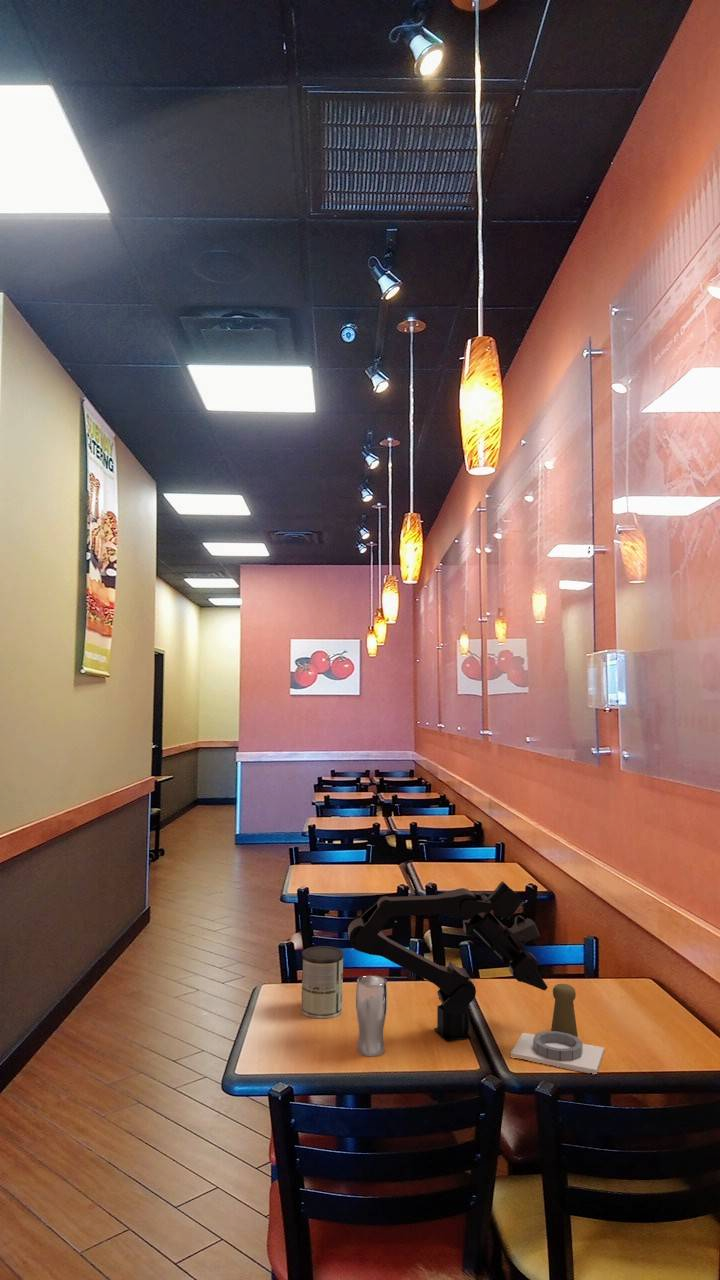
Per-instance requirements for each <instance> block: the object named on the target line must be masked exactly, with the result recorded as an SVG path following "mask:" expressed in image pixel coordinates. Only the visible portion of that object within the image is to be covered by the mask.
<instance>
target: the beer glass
mask: <svg viewBox="0 0 720 1280" xmlns="http://www.w3.org/2000/svg"><path fill="white" fill-rule="evenodd" d="M355 992H356V993H355V1009H356V1011H355V1012H356V1018H357V1024H358V1025H357V1026H358V1041H357V1047H356V1052H357V1053H358V1054H359V1055H360V1056H364V1057H368V1058H369V1057H370V1058H371V1057H373V1058H374V1057H379V1056H382V1055H383V1054H384V1053H385V1052H386V1049H385V1041H384V1030H385V1029H384V1028H385V1022H386V1017H387V1011H388V981H387V979H386V978H385V977H382V976H380V975H364V976H360V977H359V978H357V979H356V991H355Z"/></svg>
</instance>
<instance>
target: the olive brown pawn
mask: <svg viewBox="0 0 720 1280" xmlns="http://www.w3.org/2000/svg"><path fill="white" fill-rule="evenodd" d="M552 996H553V998H554V1006H553V1013H552V1019H551V1020H552V1021H551V1030H550V1031H558V1032H564V1033H568V1034H571V1035H573V1036H576V1037H578V1029H577V1021H576V1019H577V1018H576V1014H575V1005H574V1001H575V999H576V997H577V994H576V990H575V988H574V987H573V986H572V985H571V984H567V983H557V984H556V985H554V986H553V987H552Z"/></svg>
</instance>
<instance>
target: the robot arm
mask: <svg viewBox="0 0 720 1280" xmlns="http://www.w3.org/2000/svg"><path fill="white" fill-rule="evenodd" d="M376 901H377V902H376V903H375V904H374V905H373V906H371V907H369V909H366V911H365V912H364V913H363V914H362V915H361V916H360V917H359V918H356V919H354V920H352V921H351V922H350V924H348V928H347V934H348V940H349V943H350V946H351V947H352V949H353V950H355V951H357V952H361V953H364V954H366V955H369V956H377V957H382V958H384V959H387V961H388V960H389V961H390V962H392V963H393V964H396V965H398V966H400V967H401V968H403V969H405V970H406V971H409V972H411V973H413V974H415V975H417V976H418V977H421V978H422V979H424V980H426V981H428V982H430V983H432V984H433V985H435V987H437V988H438V990H437V992H436V993H437V997H438V999H439V1002H441V1004H440V1005H439V1004H438V1005H436V1007H437V1011H436V1012H437V1013H436V1014H437V1016H436V1023H437V1024H436V1027H433V1031H434V1032H435V1033H436V1034H437V1035H438V1036H439V1037H441V1039H443V1040H444V1041H446V1042H451V1041H457V1040H462V1039H464V1040H465V1039H470V1038H471V1036H472V1035H471V1034H470V1033H469V1032H470V1013H469V1012H468V1009H469V1006H470V1003H472V1002H473V1001H474V999H476V996H477V989H476V985H475V984H474V982H473V981H472V979H471V977H470V975H469V974H468V973H467V970H466V969H465V968H464V967H460V966H458V965H457V964H455V963H453V962H452V961H448V965H447V966H446V965H439V964H438V963H436V962H434V961H432V960H430V959H428V958H426V957H424V956H423V955H421V954H419V953H417V952H415V951H413V950H411V949H409V948H407V947H406V946H404V945H401V944H400V943H398V942H396V941H394V940H392V939H390V938H388V937H387V936H386V935H385V934H384V933H383V932H382V929H383V928H384V927H385V925H386V923H387V922H388V921H389V920H390V919H391V918H392V917H404V916H407V917H409V916H411V917H412V916H428V915H429V916H430V915H440V916H441V915H442V916H447V917H450V918H455V919H462V923H463V924H462V925H463V928H462V930H463V932H464V934H465V935H467V936H469V935H470V934H471V933H472V931H474V933H475V934H477V935H478V936H479V937H480V939H481V940H482V941H483V942H484V943H485V944H486V945H487V946H488V947H489V949H490V950H491V951H492V952H494V953H495V954H496V955H497V956H498V957H499V958H500V959H501V960H502V962H503V963H504V964H505V965H509V968H508V969H509V972H510V974H511V975H512V977H513V978H515V980H516V981H517V982H518V983H523V984H527V985H529V986H532V987H534V988H537V989H540V990H542V991H546V990H547V989H548V985H547V983H546V982H545V980H544V979H543V978H542V976H541V975H540V972H539V971H538V965H539V961H538V959H536V957H535V956H534V955H533V954H532V953H531V952H530V951H529V950H524V948H525V947H526V945H524V944H525V943H528V942H529V941H532V940H533V939H537V938H540V935H541V934H540V933H539V930H538V928H537V925H536V923H535V922H534V921H533V919H531V918H528V917H526V919H525V918H524V917H523V916H521V915H518V916H515V917H514V924H512V926H511V927H510V928H508V926H506V925H504V924H503V923H502V922H500V921H499V919H498V918H496V916H497V917H499V918H500V919H501V920H503V919H504V920H506V919H507V920H510V918H511V917H512V916H513V915H514V914H515V913H516V912H517V911H518V910H519V908H521V907H522V906H523V905H524V903H525V901H524V900H523V899H522V897H521V896H519V895H518V893H516V892H515V891H514V890H513V889H512V888H510V886H508V885H507V883H505V881H501V882H500V883H499V884H498V885H497V886H496V888H495V889H494V890H493V891H492V892H491V893H490V895H489V896H486V895H485V894H480V893H479V894H478V893H473V892H472V891H471V890H470V889H468V888H464V887H460V888H456V889H452V890H448V891H445V892H442V893H440V894H434V895H433V894H432V895H410V896H409V895H408V896H405V895H404V896H388V895H385V896H381V897H380V898H379V899H378V900H376ZM492 911H493V913H494V914H496V916H495V915H493V913H492Z"/></svg>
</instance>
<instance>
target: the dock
mask: <svg viewBox="0 0 720 1280" xmlns="http://www.w3.org/2000/svg"><path fill="white" fill-rule="evenodd" d="M582 1041H583V1040H581V1039H580V1038H579V1037H578V1036H577V1037H576V1036H573V1035H571V1034H568V1033H564V1032H558V1031H551V1030H548V1031H546V1030H545V1031H542V1032H537V1033H536V1034H533V1033H528V1032H527V1033H526V1032H522V1034H521V1035H520V1037H519V1038H518V1040H517V1042H516V1044H515V1045H514V1047H513V1049H512V1050H511V1052H510V1057H511V1056H512V1057H518V1058H522V1059H527V1060H531V1061H535V1062H540V1063H543V1064H542V1065H544V1064H548V1065H547V1066H549V1065H553V1066H552V1067H554V1066H556V1067H555V1068H559V1067H560V1068H559V1069H564V1068H565V1069H566V1070H570V1071H576V1072H580V1073H584V1074H585V1073H586V1074H590V1073H592V1074H591V1075H595V1074H597V1075H598V1073H597V1072H599V1069H600V1067H601V1062H602V1061H603V1057H604V1055H605V1054H604V1053H605V1047H604V1046H597V1045H591V1044H586V1043H584V1042H582Z"/></svg>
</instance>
